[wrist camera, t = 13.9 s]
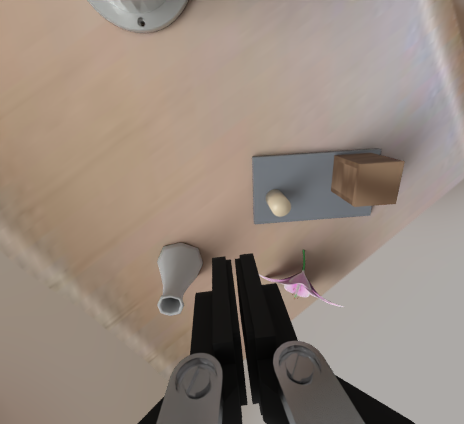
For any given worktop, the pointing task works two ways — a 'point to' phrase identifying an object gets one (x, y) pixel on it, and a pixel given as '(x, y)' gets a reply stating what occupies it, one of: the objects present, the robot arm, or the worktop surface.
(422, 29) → the worktop surface
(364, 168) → the wooden grain cube
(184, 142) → the worktop surface
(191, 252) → the flask
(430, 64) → the worktop surface
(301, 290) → the lily
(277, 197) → the slate stand
